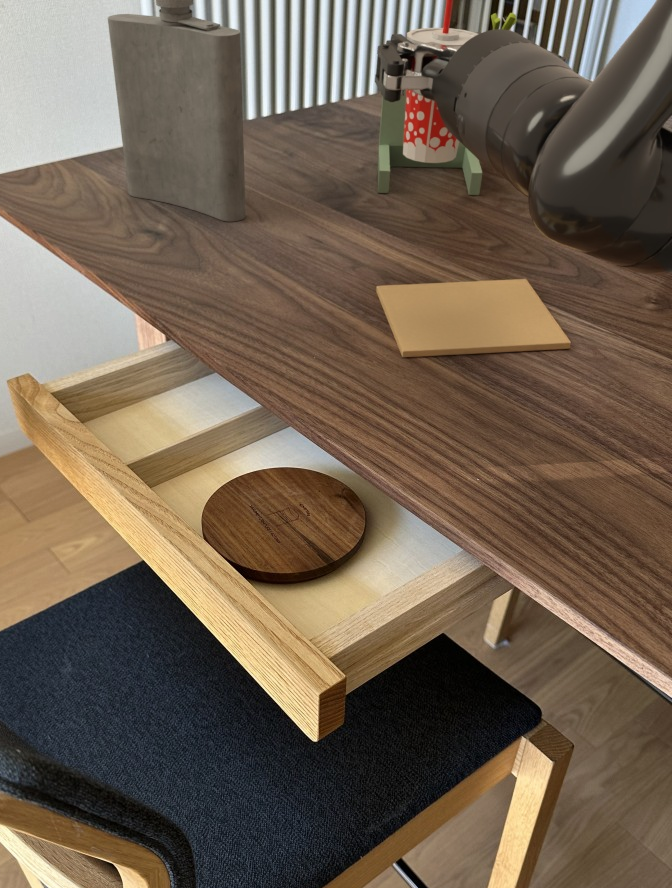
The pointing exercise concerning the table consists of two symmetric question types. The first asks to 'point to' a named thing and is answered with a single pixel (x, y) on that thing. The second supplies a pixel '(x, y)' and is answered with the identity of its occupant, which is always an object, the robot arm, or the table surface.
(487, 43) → the robot arm
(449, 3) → the beverage cup
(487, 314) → the cork mat
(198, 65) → the hip flask
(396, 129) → the tablet stand
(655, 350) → the table surface
